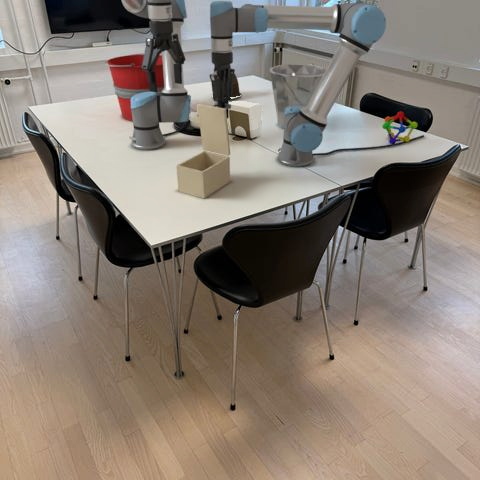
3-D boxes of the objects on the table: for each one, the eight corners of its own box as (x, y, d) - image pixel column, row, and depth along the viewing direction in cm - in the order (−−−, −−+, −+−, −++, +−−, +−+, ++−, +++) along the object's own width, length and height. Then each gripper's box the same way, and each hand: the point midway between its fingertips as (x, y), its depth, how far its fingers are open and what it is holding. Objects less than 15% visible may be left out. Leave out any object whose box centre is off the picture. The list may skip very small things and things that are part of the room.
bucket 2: (296, 138, 215) (301, 78, 201) (255, 124, 234) (256, 68, 219) (335, 125, 232) (342, 70, 217) (294, 113, 251) (297, 61, 236)
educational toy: (377, 146, 209) (379, 114, 202) (384, 138, 219) (386, 107, 211) (411, 149, 202) (415, 116, 195) (417, 141, 212) (420, 109, 204)
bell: (227, 105, 294) (202, 96, 282) (238, 66, 289) (213, 55, 277) (243, 108, 280) (217, 98, 268) (255, 66, 275) (229, 55, 263)
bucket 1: (121, 106, 263) (114, 51, 247) (180, 106, 262) (176, 52, 246) (104, 123, 233) (95, 63, 217) (170, 124, 232) (166, 64, 216)
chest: (204, 198, 160) (202, 172, 154) (178, 190, 165) (176, 165, 160) (230, 181, 172) (229, 156, 167) (205, 175, 178) (204, 150, 172)
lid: (224, 109, 155) (237, 100, 160) (196, 104, 160) (210, 96, 165) (228, 155, 166) (240, 145, 172) (203, 149, 172) (215, 140, 177)
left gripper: (143, 25, 132) (150, 97, 143) (193, 16, 150) (196, 81, 161) (124, 23, 135) (133, 93, 147) (175, 15, 153) (179, 78, 165)
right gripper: (219, 55, 147) (220, 125, 160) (242, 49, 158) (242, 115, 170) (200, 53, 150) (204, 121, 163) (224, 47, 161) (225, 112, 173)
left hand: (166, 87), depth 154 cm, fingers open, 13 cm apart
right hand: (223, 118), depth 166 cm, fingers closed on lid, 1 cm apart
